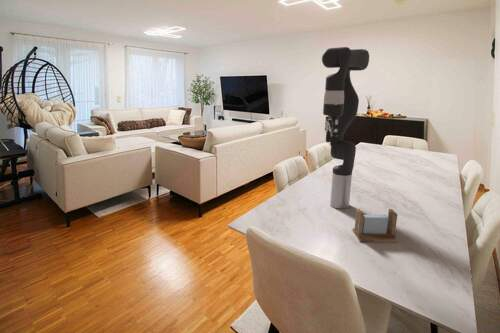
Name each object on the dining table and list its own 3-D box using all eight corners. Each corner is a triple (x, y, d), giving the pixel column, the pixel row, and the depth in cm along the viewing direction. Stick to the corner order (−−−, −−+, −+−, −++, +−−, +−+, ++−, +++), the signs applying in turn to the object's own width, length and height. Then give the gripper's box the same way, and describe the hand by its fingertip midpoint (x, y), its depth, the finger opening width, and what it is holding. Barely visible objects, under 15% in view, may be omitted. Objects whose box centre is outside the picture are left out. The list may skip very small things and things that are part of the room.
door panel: (360, 232, 119) (362, 214, 117) (383, 233, 118) (385, 215, 116) (362, 235, 116) (364, 217, 114) (385, 236, 116) (388, 217, 114)
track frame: (352, 230, 123) (354, 206, 120) (386, 230, 122) (389, 206, 119) (359, 242, 113) (362, 216, 110) (396, 242, 113) (400, 217, 110)
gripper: (320, 101, 120) (318, 140, 124) (327, 103, 106) (324, 147, 111) (338, 101, 120) (335, 140, 124) (348, 103, 106) (344, 147, 110)
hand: (330, 143), depth 117 cm, fingers open, 8 cm apart
